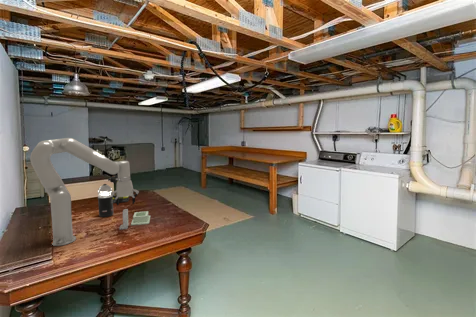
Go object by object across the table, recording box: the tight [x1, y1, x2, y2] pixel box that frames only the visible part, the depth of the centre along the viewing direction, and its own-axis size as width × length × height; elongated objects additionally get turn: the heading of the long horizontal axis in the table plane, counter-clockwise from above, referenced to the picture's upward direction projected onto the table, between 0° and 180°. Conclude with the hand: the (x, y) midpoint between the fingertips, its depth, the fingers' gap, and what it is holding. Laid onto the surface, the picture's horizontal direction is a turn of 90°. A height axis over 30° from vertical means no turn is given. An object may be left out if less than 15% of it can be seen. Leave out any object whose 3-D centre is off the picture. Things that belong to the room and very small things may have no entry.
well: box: [130, 210, 151, 226], centre depth 182 cm, size 16×12×5 cm
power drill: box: [107, 175, 130, 204], centre depth 230 cm, size 9×17×25 cm, turn 107°
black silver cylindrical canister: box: [97, 183, 114, 218], centre depth 192 cm, size 10×10×25 cm
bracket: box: [118, 208, 129, 231], centre depth 168 cm, size 6×5×12 cm
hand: (125, 204), depth 168 cm, fingers open, 9 cm apart
